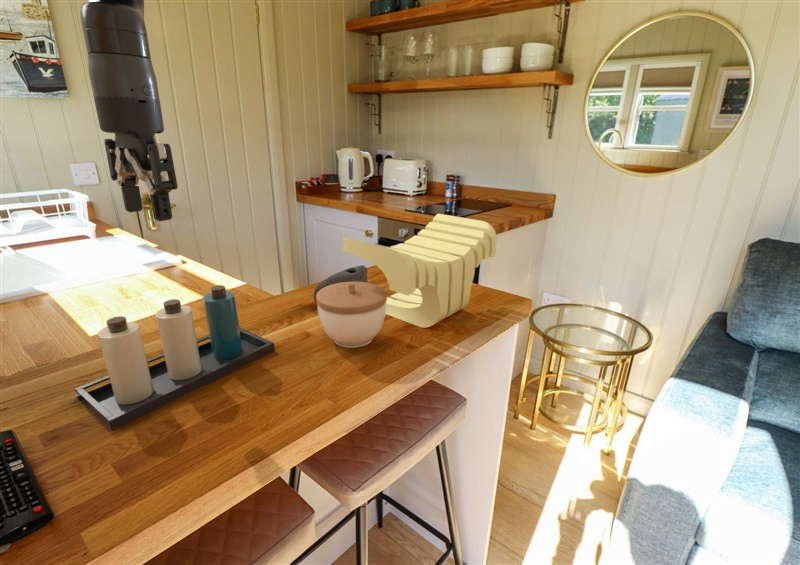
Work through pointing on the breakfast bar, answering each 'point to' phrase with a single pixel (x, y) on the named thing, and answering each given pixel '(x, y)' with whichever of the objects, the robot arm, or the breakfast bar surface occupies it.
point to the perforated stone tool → (344, 278)
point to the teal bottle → (223, 323)
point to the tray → (170, 382)
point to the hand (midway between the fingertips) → (148, 215)
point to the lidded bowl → (351, 312)
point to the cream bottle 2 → (178, 340)
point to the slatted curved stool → (431, 267)
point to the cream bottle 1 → (125, 360)
